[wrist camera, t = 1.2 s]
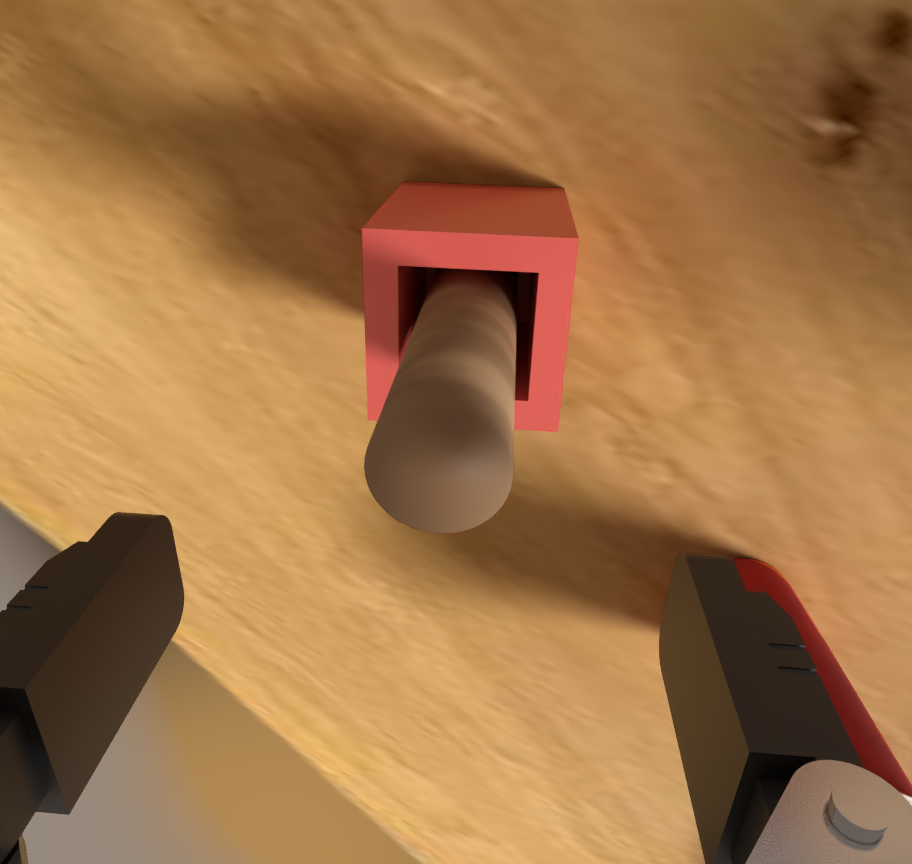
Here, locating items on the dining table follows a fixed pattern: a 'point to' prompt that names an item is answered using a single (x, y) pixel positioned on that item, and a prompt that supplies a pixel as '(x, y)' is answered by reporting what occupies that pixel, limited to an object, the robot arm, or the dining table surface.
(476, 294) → the dowel
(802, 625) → the paper cup
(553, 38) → the dining table surface
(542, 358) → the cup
